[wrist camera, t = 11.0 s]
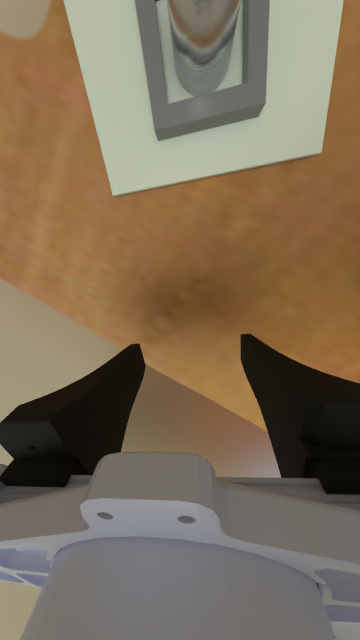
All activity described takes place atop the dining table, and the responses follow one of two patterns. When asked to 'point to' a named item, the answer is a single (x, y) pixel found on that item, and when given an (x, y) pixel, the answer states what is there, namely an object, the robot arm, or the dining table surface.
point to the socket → (208, 109)
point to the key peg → (202, 41)
